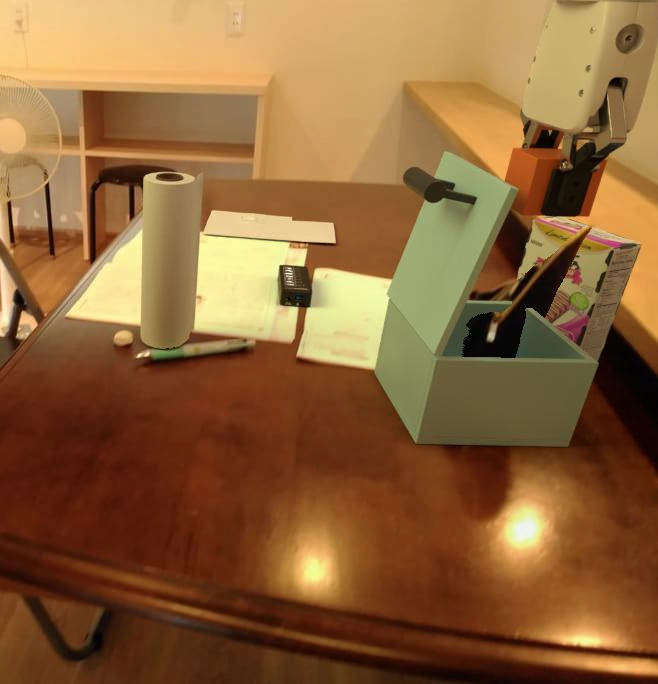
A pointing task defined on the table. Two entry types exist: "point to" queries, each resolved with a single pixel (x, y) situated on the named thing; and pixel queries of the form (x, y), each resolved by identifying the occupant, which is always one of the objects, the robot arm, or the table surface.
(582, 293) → the candy bar box
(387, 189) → the table surface
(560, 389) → the box
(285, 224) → the paper
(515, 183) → the block
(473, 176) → the freezer lid
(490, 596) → the table surface
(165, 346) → the paper towel roll
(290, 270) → the multiport hub
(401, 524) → the table surface
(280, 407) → the table surface
